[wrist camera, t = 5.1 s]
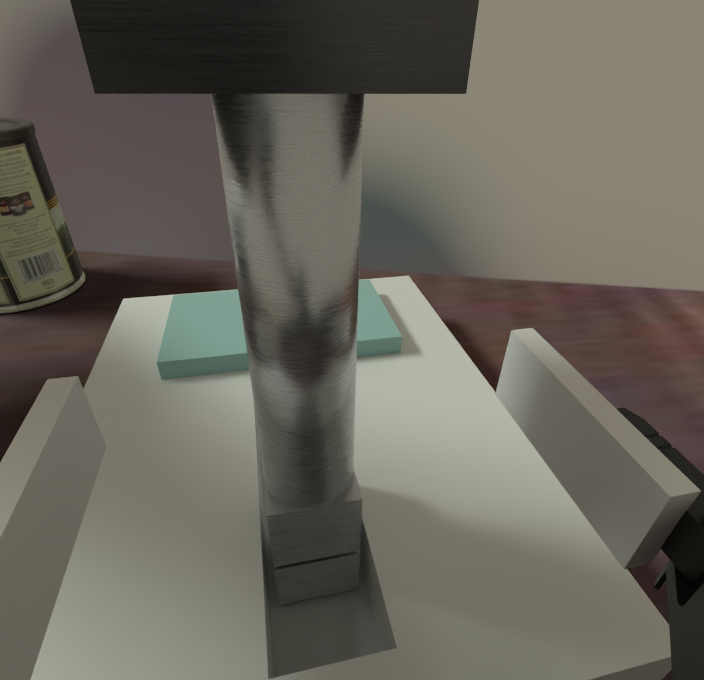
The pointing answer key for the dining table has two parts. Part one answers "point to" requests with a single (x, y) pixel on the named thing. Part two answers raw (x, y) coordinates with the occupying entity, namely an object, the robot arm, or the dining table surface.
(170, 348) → the cover
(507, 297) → the dining table surface
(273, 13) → the t key
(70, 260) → the coffee can
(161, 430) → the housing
